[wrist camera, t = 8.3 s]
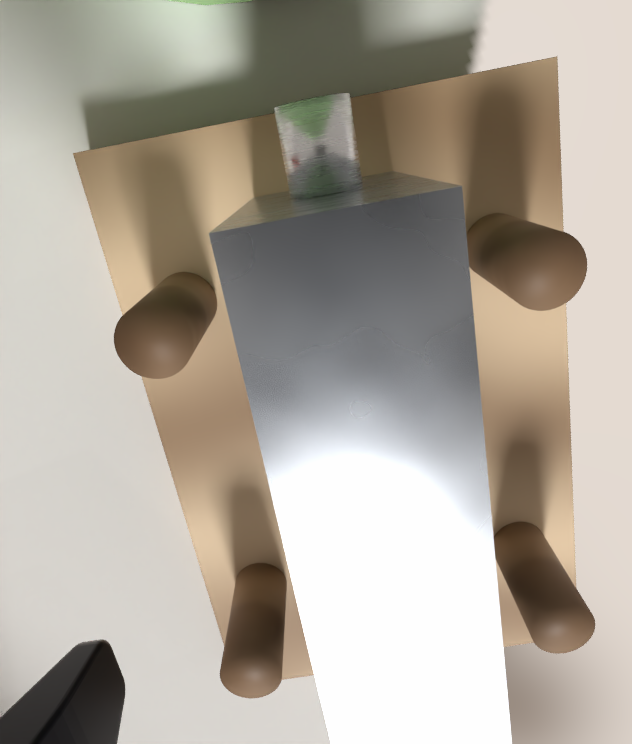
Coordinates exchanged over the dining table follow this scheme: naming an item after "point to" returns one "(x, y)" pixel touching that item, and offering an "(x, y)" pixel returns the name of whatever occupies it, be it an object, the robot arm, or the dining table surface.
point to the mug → (211, 1)
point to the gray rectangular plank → (372, 433)
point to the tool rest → (224, 375)
